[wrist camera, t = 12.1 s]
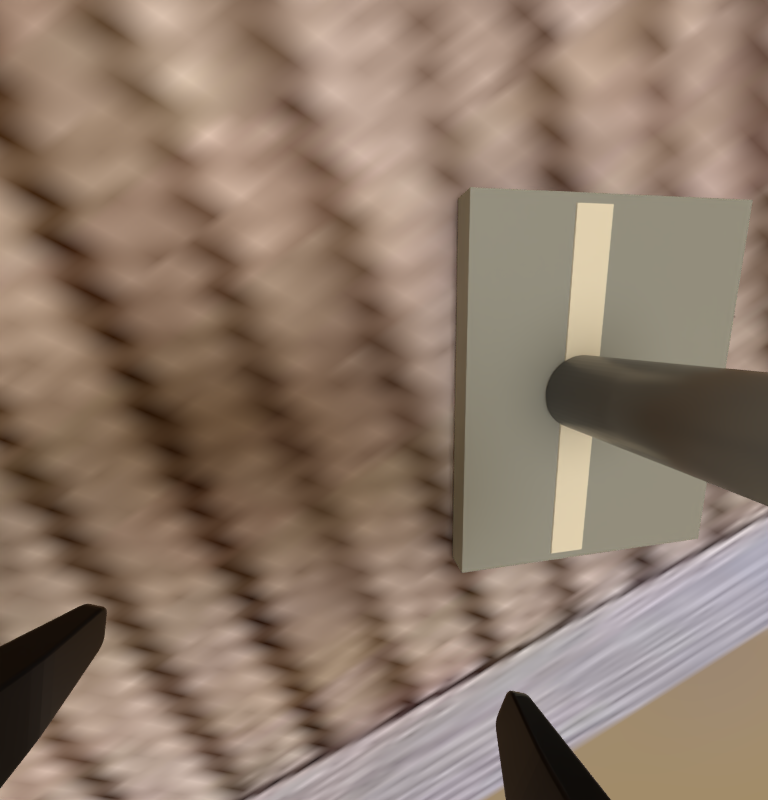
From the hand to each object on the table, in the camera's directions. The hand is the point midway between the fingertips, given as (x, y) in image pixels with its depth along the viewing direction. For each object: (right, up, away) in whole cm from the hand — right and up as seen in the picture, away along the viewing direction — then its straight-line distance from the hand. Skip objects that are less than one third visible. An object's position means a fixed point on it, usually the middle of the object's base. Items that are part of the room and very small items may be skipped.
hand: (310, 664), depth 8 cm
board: (+13, +7, +13) cm, 20 cm away
